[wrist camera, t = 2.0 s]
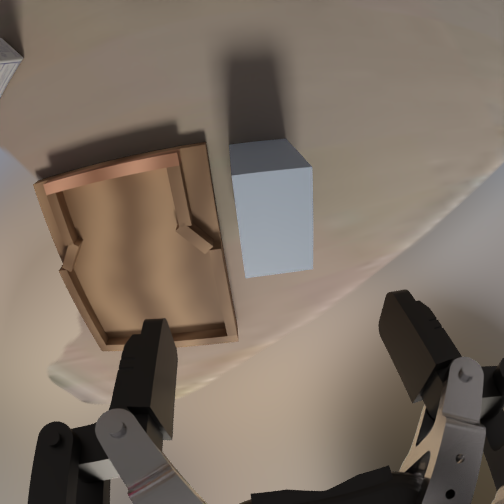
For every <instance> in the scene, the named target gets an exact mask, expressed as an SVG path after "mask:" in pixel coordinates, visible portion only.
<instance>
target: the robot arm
mask: <svg viewBox="0 0 504 504" xmlns="http://www.w3.org/2000/svg"><path fill="white" fill-rule="evenodd" d="M379 333H380V336H381V338H382V341H383V342H384V344H385V346H386V348H387V350H388V352H389V355H390V356H391V359H392V360H393V363H394V365H395V367H396V369H397V371H398V373H399V375H400V377H401V379H402V381H403V383H404V386H405V388H406V390H407V392H408V395H409V397H410V399H411V401H412V403H415V402H418V401H421V400H423V401H424V404H425V406H424V407H423V410H422V413H421V417H420V420H419V424H418V427H417V431H416V434H415V437H414V440H413V443H412V447H411V449H410V451H409V453H408V455H407V457H406V458H405V460H404V462H403V464H402V466H401V468H400V470H399V472H394V471H391V470H390V467H389V466H386V467H382V468H380V469H376V470H373V471H370V472H366V473H363V474H359V475H357V476H355V477H353V478H351V479H349V480H347V481H345V482H343V483H341V484H339V485H337V486H335V487H333V488H331V489H329V490H326V491H301V490H281V491H273V492H264V493H254V494H251V500H248V501H244V502H242V503H240V504H471V501H472V497H473V493H474V490H475V486H476V482H477V478H478V473H479V469H480V464H481V459H482V454H483V452H484V454H485V457H486V460H487V462H488V465H489V468H490V471H491V474H492V477H493V480H494V483H495V486H496V489H497V494H496V497H495V499H494V500H493V501H492V503H491V504H504V411H503V409H502V408H503V407H504V358H503V359H502V360H501V362H500V363H499V365H498V366H486V367H481V366H480V365H479V364H478V363H477V362H476V361H475V360H473V359H471V358H469V357H462V356H461V355H460V353H459V351H458V350H457V348H456V347H455V345H454V344H453V342H452V341H451V339H450V337H449V336H448V334H447V333H446V331H445V330H444V328H442V326H441V324H440V323H439V321H438V320H436V317H435V315H434V314H433V312H432V311H431V310H430V308H429V307H427V306H426V305H424V304H423V303H422V302H421V301H415V299H414V298H413V296H412V295H411V294H410V292H409V291H408V290H400V291H394V292H389V293H387V295H386V298H385V301H384V305H383V309H382V313H381V316H380V320H379ZM177 363H178V357H177V349H176V346H175V343H174V340H173V337H172V334H171V331H170V328H169V325H168V322H167V320H166V318H158V319H145V320H144V322H143V326H142V330H141V334H132V336H131V337H130V338H129V340H128V341H127V342H126V344H125V345H124V348H123V352H122V356H121V360H120V365H119V370H118V373H117V378H116V382H115V386H114V391H113V396H112V401H111V405H110V408H109V411H107V412H105V413H103V414H102V415H101V416H100V418H99V419H98V421H97V422H96V423H94V424H91V425H87V426H83V427H78V428H73V429H70V428H69V427H68V426H67V425H66V424H64V423H62V422H51V423H49V424H47V425H46V426H44V427H43V428H42V430H41V431H40V433H39V436H38V441H37V445H36V450H35V456H34V461H33V467H32V474H31V481H30V488H29V496H28V504H110V479H114V478H119V477H121V479H122V480H123V482H124V483H125V484H126V487H127V488H128V496H129V498H130V499H131V501H132V503H133V504H207V502H206V501H204V499H203V498H202V497H201V496H200V495H199V494H198V493H197V492H196V491H195V490H194V489H193V488H192V487H191V486H190V484H189V483H188V482H187V481H186V480H185V479H184V478H183V476H182V475H181V474H180V473H179V472H178V470H177V469H176V468H175V467H174V466H173V464H172V463H171V462H170V461H169V460H168V458H167V457H166V456H165V454H164V453H163V452H162V445H163V440H172V436H173V418H174V402H175V388H176V375H177Z"/></svg>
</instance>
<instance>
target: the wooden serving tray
mask: <svg viewBox="0 0 504 504" xmlns="http://www.w3.org/2000/svg"><path fill="white" fill-rule="evenodd" d="M33 186H34V189H35V191H36V195H37V198H38V201H39V204H40V207H41V209H42V212H43V215H44V218H45V220H46V223H47V226H48V228H49V230H50V233H51V236H52V238H53V241H54V243H55V246H56V248H57V251H58V253H59V255H60V257H61V260H62V262H63V265H62V267H61V269H60V270H59V273H60V274H61V277H62V278H63V281H64V283H65V285H66V287H67V289H68V291H69V293H70V295H71V297H72V299H73V301H74V303H75V305H76V306H77V308H78V310H79V312H80V314H81V316H82V318H83V319H84V321H85V323H86V325H87V327H88V328H89V330H90V332H91V333H92V335H93V337H94V339H95V340H96V342H97V344H98V345H99V347H100V348H101V350H102V351H123V348H124V345H125V344H126V342H127V341H128V340H129V338H130V337H131V336H132V334H141V330H142V326H143V322H144V320H145V319H158V318H166V320H167V322H168V325H169V328H170V331H171V334H172V337H173V340H174V343H175V346H176V347H188V346H199V345H209V344H219V343H228V342H237V341H238V328H237V322H236V317H235V311H234V306H233V301H232V295H231V290H230V284H229V279H228V273H227V267H226V262H225V256H224V250H223V245H222V239H221V233H220V227H219V221H218V215H217V209H216V203H215V197H214V190H213V184H212V178H211V171H210V165H209V159H208V152H207V145H206V142H202V143H196V144H190V145H184V146H178V147H172V148H167V149H162V150H156V151H151V152H147V153H142V154H137V155H132V156H128V157H123V158H119V159H115V160H111V161H106V162H102V163H98V164H95V165H91V166H87V167H83V168H79V169H76V170H72V171H69V172H65V173H62V174H58V175H55V176H52V177H49V178H45V179H42V180H39V181H37V182H36V183H35V184H33Z"/></svg>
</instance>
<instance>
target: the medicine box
mask: <svg viewBox="0 0 504 504" xmlns="http://www.w3.org/2000/svg"><path fill="white" fill-rule="evenodd" d="M22 60H23V57H22V56H21V55H20V54H19V53H18V52H16V51H15V50H14V49H13V48H12V47H11V46H10V45H9V44H8V43H7V42H5V41H4V40H3V39H2V38H0V97H1V95H2V94H3V92H4V90H5V88H6V86H7V84H8V83H9V81H10V79H11V77H12V76H13V74H14V72H15V71H16V69H17V67H18V66H19V64H20V63H21V61H22Z"/></svg>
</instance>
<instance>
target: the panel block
mask: <svg viewBox="0 0 504 504" xmlns="http://www.w3.org/2000/svg"><path fill="white" fill-rule="evenodd" d="M229 150H230V162H231V174H232V182H233V190H234V197H235V205H236V212H237V219H238V227H239V234H240V242H241V249H242V256H243V263H244V270H245V278H251V277H259V276H266V275H273V274H281V273H288V272H295V271H302V270H309V269H313V178H312V166H311V165H310V164H309V163H308V162H307V161H306V160H305V159H304V158H303V156H302V155H301V154H300V153H299V152H298V151H297V150H296V149H295V148H294V147H293V146H292V145H291V144H290V143H289V142H288V140H287V139H276V140H265V141H256V142H247V143H238V144H231V145H229Z"/></svg>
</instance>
